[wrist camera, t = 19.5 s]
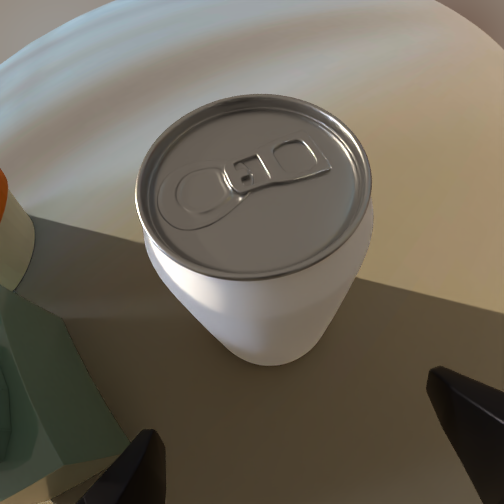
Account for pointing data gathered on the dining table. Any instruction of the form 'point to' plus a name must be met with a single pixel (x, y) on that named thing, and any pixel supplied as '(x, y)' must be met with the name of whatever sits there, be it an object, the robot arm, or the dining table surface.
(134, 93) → the dining table surface
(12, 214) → the reusable coffee cup
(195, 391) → the dining table surface
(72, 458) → the button housing
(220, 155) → the can
